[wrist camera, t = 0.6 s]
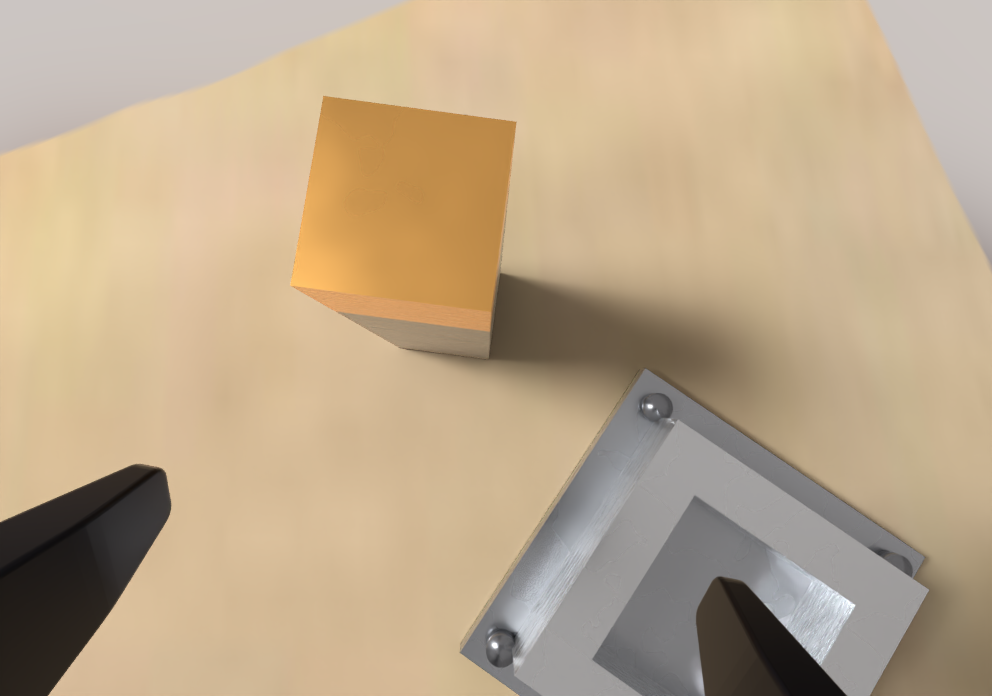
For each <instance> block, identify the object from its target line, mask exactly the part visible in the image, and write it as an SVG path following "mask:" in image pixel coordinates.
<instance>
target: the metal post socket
mask: <svg viewBox="0 0 992 696" xmlns="http://www.w3.org/2000/svg"><path fill="white" fill-rule="evenodd" d="M924 558H925V557H924V556H923V555H921V554H920V553H918V552H917V551H915V550H914V549H912V548H911V547H909V546H908V545H906V544H905V543H904V542H902V541H901V540H899V539H898V538H896V537H895V536H893V535H892V534H890V533H889V532H887V531H886V530H884V529H883V528H881V527H880V526H878V525H877V524H875V523H874V522H872V521H871V520H869V519H868V518H867V517H865V516H864V515H862V514H861V513H859V512H858V511H856V510H855V509H853V508H852V507H850V506H849V505H847V504H846V503H844V502H843V501H841V500H840V499H838V498H837V497H835V496H834V495H832V494H831V493H829V492H828V491H827V490H825V489H824V488H822V487H821V486H819V485H818V484H816V483H815V482H813V481H812V480H810V479H809V478H807V477H806V476H804V475H803V474H801V473H800V472H798V471H797V470H795V469H794V468H792V467H791V466H790V465H788V464H787V463H785V462H784V461H782V460H781V459H779V458H778V457H776V456H775V455H773V454H772V453H770V452H769V451H767V450H766V449H764V448H763V447H761V446H760V445H758V444H757V443H755V442H754V441H753V440H751V439H750V438H748V437H747V436H745V435H744V434H742V433H741V432H739V431H738V430H736V429H735V428H733V427H732V426H730V425H729V424H727V423H726V422H724V421H723V420H721V419H720V418H718V417H717V416H715V415H714V414H713V413H711V412H710V411H708V410H707V409H705V408H704V407H702V406H701V405H699V404H698V403H696V402H695V401H693V400H692V399H690V398H689V397H687V396H686V395H684V394H683V393H681V392H680V391H678V390H677V389H676V388H674V387H673V386H671V385H670V384H668V383H667V382H665V381H664V380H662V379H661V378H659V377H658V376H656V375H655V374H653V373H652V372H650V371H649V370H647V369H646V368H644V369H640V370H639V372H638V373H637V375H636V376H635V378H634V379H633V381H632V382H631V384H630V385H629V387H628V388H627V390H626V391H625V393H624V394H623V396H622V398H621V399H620V401H619V402H618V404H617V405H616V407H615V408H614V410H613V411H612V413H611V414H610V416H609V417H608V419H607V420H606V422H605V424H604V425H603V427H602V428H601V430H600V431H599V433H598V434H597V436H596V437H595V439H594V440H593V442H592V443H591V445H590V446H589V448H588V450H587V451H586V453H585V454H584V456H583V457H582V459H581V460H580V462H579V463H578V465H577V466H576V468H575V469H574V471H573V472H572V474H571V475H570V477H569V479H568V480H567V482H566V483H565V485H564V486H563V488H562V489H561V491H560V492H559V494H558V495H557V497H556V498H555V500H554V501H553V503H552V505H551V506H550V508H549V509H548V511H547V512H546V514H545V515H544V517H543V518H542V520H541V521H540V523H539V524H538V526H537V527H536V529H535V531H534V532H533V534H532V535H531V537H530V538H529V540H528V541H527V543H526V544H525V546H524V547H523V549H522V550H521V552H520V553H519V555H518V556H517V558H516V560H515V561H514V563H513V564H512V566H511V567H510V569H509V570H508V572H507V573H506V575H505V576H504V578H503V579H502V581H501V582H500V584H499V586H498V587H497V589H496V590H495V592H494V593H493V595H492V596H491V598H490V599H489V601H488V602H487V604H486V605H485V607H484V608H483V610H482V612H481V613H480V615H479V616H478V618H477V619H476V621H475V622H474V624H473V625H472V627H471V628H470V630H469V631H468V633H467V634H466V636H465V637H464V639H463V641H462V642H461V646H460V653H461V654H462V655H464V656H465V657H467V658H468V659H469V660H471V661H472V662H474V663H475V664H476V665H478V666H479V667H481V668H482V669H483V670H485V671H486V672H488V673H489V674H490V675H492V676H493V677H495V678H496V679H497V680H499V681H500V682H501V683H503V684H504V685H506V686H507V687H508V688H510V689H511V690H513V691H514V692H515V693H517V694H518V695H520V696H705V694H704V686H703V678H702V669H701V661H700V653H699V645H698V636H697V628H696V612H697V608H698V606H699V604H700V602H701V600H702V598H703V596H704V595H705V593H706V591H707V589H708V587H709V586H710V584H711V582H712V580H713V579H714V578H716V577H717V576H723V577H728V578H733V579H738V580H741V581H743V582H744V583H746V584H747V585H748V586H749V587H750V588H751V590H752V591H753V592H754V593H755V594H756V595H757V596H758V597H759V598H760V600H761V601H762V602H763V603H764V604H765V605H766V606H767V607H768V608H769V610H770V611H771V612H772V613H773V614H774V615H775V616H776V617H777V618H778V619H779V621H780V622H781V623H782V624H783V625H784V626H785V627H786V628H787V629H788V631H789V632H790V633H791V634H792V635H793V636H794V637H795V638H796V639H797V641H798V642H799V643H800V644H801V645H802V646H803V647H804V648H805V649H806V651H807V652H808V653H809V654H810V655H811V656H812V657H813V658H814V659H815V661H816V662H817V663H818V664H819V665H820V666H821V667H822V668H823V669H824V671H825V672H826V673H827V674H828V675H829V676H830V677H831V678H832V679H833V681H834V682H835V683H836V684H837V685H838V686H839V687H840V688H841V689H842V690H843V692H844V693H845V694H846V695H847V696H870V694H871V693H872V691H873V689H874V687H875V685H876V684H877V682H878V680H879V678H880V677H881V675H882V673H883V671H884V669H885V668H886V666H887V664H888V662H889V661H890V659H891V657H892V655H893V653H894V652H895V650H896V648H897V646H898V645H899V643H900V641H901V639H902V637H903V636H904V634H905V632H906V630H907V629H908V627H909V625H910V623H911V621H912V620H913V618H914V616H915V614H916V613H917V611H918V609H919V607H920V605H921V604H922V602H923V600H924V598H925V597H926V595H927V593H928V591H929V589H927V588H926V587H924V586H923V585H921V584H920V583H918V582H917V581H916V580H914V579H913V578H914V576H915V574H916V573H917V571H918V569H919V567H920V566H921V564H922V562H923V560H924Z"/></svg>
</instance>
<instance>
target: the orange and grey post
mask: <svg viewBox="0 0 992 696" xmlns="http://www.w3.org/2000/svg"><path fill="white" fill-rule="evenodd" d="M515 129H516V122H513V121H506V120H498V119H491V118H483V117H476V116H468V115H461V114H453V113H446V112H438V111H431V110H424V109H416V108H409V107H401V106H394V105H386V104H379V103H371V102H364V101H356V100H349V99H341V98H334V97H326V96H323V102H322V108H321V113H320V119H319V125H318V131H317V136H316V142H315V148H314V154H313V159H312V165H311V171H310V176H309V182H308V188H307V194H306V199H305V205H304V211H303V217H302V222H301V228H300V234H299V239H298V245H297V251H296V257H295V262H294V268H293V274H292V280H291V285H290V286H292V287H294V288H296V289H297V290H299V291H301V292H303V293H304V294H306V295H308V296H310V297H311V298H313V299H315V300H317V301H318V302H320V303H322V304H324V305H325V306H327V307H329V308H331V309H332V310H334V311H336V312H338V313H339V314H341V315H343V316H345V317H347V318H348V319H350V320H352V321H354V322H355V323H357V324H359V325H361V326H362V327H364V328H366V329H368V330H369V331H371V332H373V333H375V334H376V335H378V336H380V337H382V338H383V339H385V340H387V341H389V342H390V343H392V344H394V345H396V346H397V347H399V348H405V349H412V350H420V351H428V352H435V353H443V354H451V355H458V356H466V357H473V358H481V359H489V354H490V346H491V339H492V331H493V323H494V316H495V308H496V301H497V293H498V286H499V278H500V270H501V261H502V251H503V242H504V232H505V223H506V214H507V204H508V195H509V186H510V176H511V167H512V157H513V148H514V139H515Z"/></svg>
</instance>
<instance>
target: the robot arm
mask: <svg viewBox="0 0 992 696" xmlns="http://www.w3.org/2000/svg"><path fill="white" fill-rule="evenodd" d="M170 511H171V499H170V493H169V488H168V482H167V476H166V473H165V471H164V470H163V469H162V468H159V467H154V466H149V465H144V464H134V465H131V466H128V467H126V468H124V469H122V470H119V471H117V472H115V473H112V474H110V475H108V476H105V477H103V478H101V479H98V480H96V481H94V482H92V483H89V484H87V485H85V486H82V487H80V488H78V489H75V490H73V491H71V492H68V493H66V494H64V495H62V496H59V497H57V498H55V499H52V500H50V501H48V502H45V503H43V504H41V505H38V506H36V507H34V508H32V509H29V510H27V511H25V512H22V513H20V514H18V515H15V516H13V517H11V518H8V519H6V520H4V521H2V522H0V696H48V695H49V693H50V692H51V691H52V689H53V688H54V687H55V685H56V684H57V683H58V681H59V680H60V679H61V677H62V676H63V675H64V673H65V672H66V671H67V669H68V668H69V667H70V665H71V664H72V663H73V661H74V660H75V659H76V657H77V656H78V655H79V653H80V652H81V651H82V649H83V648H84V647H85V645H86V644H87V643H88V641H89V640H90V639H91V637H92V636H93V635H94V633H95V632H96V631H97V629H98V628H99V627H100V625H101V624H102V623H103V621H104V620H105V618H106V617H107V616H108V614H109V613H110V611H111V610H112V608H113V607H114V605H115V604H116V602H117V601H118V599H119V598H120V596H121V595H122V593H123V591H124V590H125V588H126V586H127V585H128V583H129V581H130V580H131V578H132V577H133V575H134V573H135V572H136V570H137V568H138V567H139V565H140V564H141V562H142V560H143V559H144V557H145V555H146V554H147V552H148V551H149V549H150V547H151V546H152V544H153V542H154V541H155V539H156V538H157V536H158V534H159V533H160V531H161V529H162V528H163V526H164V525H165V523H166V521H167V519H168V517H169V515H170ZM696 628H697V636H698V645H699V653H700V661H701V669H702V678H703V686H704V694H705V696H847V695H846V694H845V693H844V692H843V690H842V689H841V688H840V687H839V686H838V685H837V684H836V683H835V682H834V681H833V679H832V678H831V677H830V676H829V675H828V674H827V673H826V672H825V671H824V669H823V668H822V667H821V666H820V665H819V664H818V663H817V662H816V661H815V659H814V658H813V657H812V656H811V655H810V654H809V653H808V652H807V651H806V649H805V648H804V647H803V646H802V645H801V644H800V643H799V642H798V641H797V639H796V638H795V637H794V636H793V635H792V634H791V633H790V632H789V631H788V629H787V628H786V627H785V626H784V625H783V624H782V623H781V622H780V621H779V619H778V618H777V617H776V616H775V615H774V614H773V613H772V612H771V611H770V610H769V608H768V607H767V606H766V605H765V604H764V603H763V602H762V601H761V600H760V598H759V597H758V596H757V595H756V594H755V593H754V592H753V591H752V590H751V588H750V587H749V586H748V585H747V584H746V583H744V582H743V581H741V580H738V579H733V578H728V577H723V576H717V577H716V578H714V579H713V580H712V582H711V584H710V586H709V587H708V589H707V591H706V593H705V595H704V596H703V598H702V600H701V602H700V604H699V606H698V608H697V612H696Z"/></svg>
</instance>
